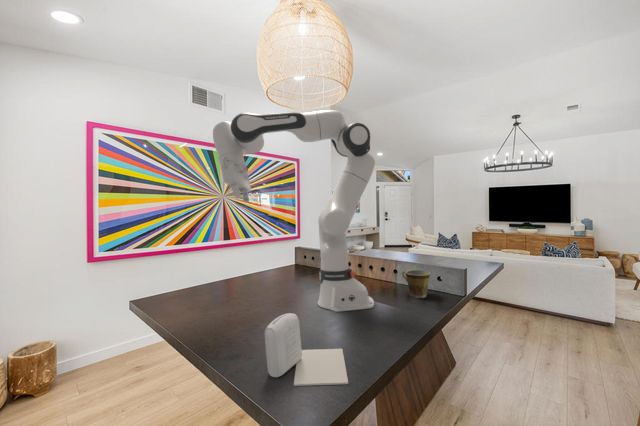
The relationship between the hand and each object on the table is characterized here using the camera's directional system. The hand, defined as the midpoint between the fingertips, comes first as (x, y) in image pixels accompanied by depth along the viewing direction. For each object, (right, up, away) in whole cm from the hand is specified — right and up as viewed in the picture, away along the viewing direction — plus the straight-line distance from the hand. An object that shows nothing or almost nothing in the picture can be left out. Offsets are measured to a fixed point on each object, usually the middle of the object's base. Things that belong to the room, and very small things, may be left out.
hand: (242, 199), depth 104 cm
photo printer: (+20, -43, -33) cm, 58 cm away
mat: (+28, -42, -33) cm, 61 cm away
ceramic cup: (+69, -40, +20) cm, 83 cm away
